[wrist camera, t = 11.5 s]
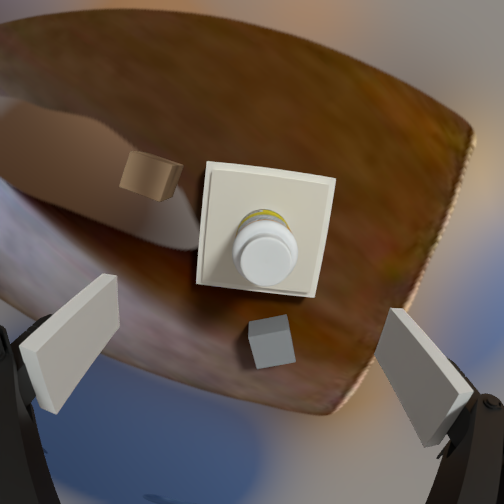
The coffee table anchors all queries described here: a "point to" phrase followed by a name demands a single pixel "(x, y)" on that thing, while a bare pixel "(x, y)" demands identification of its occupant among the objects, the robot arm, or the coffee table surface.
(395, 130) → the coffee table surface
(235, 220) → the podium
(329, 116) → the coffee table surface
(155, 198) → the walnut block
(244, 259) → the supplement bottle
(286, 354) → the grey matte cube
